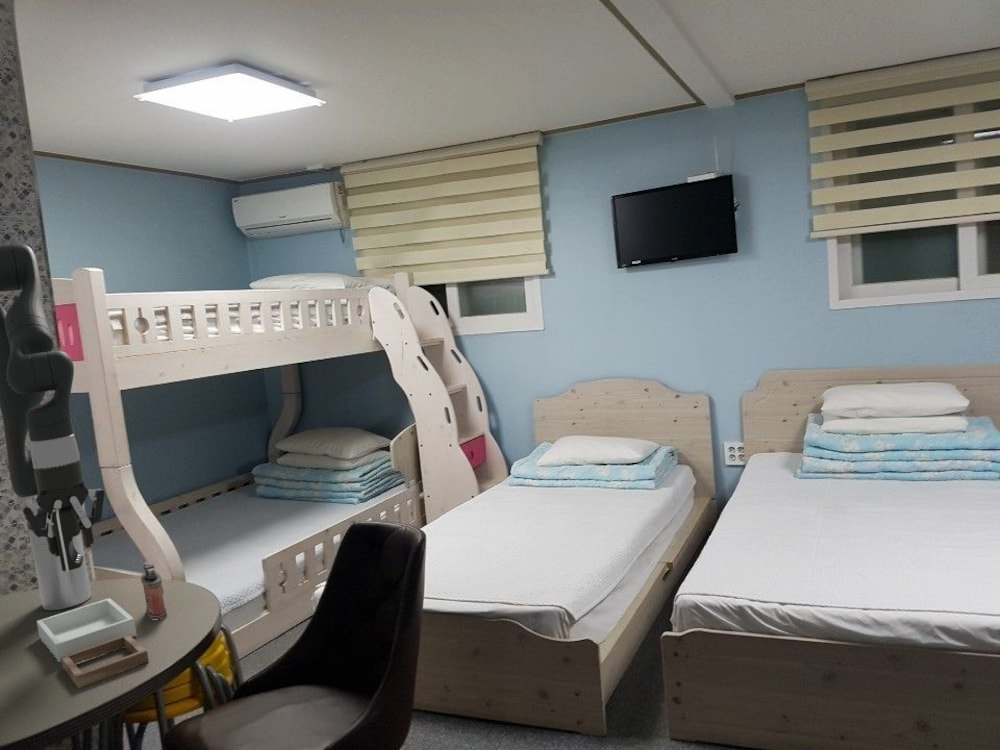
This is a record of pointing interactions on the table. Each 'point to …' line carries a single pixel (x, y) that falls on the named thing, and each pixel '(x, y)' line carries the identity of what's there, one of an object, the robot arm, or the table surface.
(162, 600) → the lighter
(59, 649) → the bin
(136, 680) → the table surface
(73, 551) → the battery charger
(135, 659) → the brown flat square frame
